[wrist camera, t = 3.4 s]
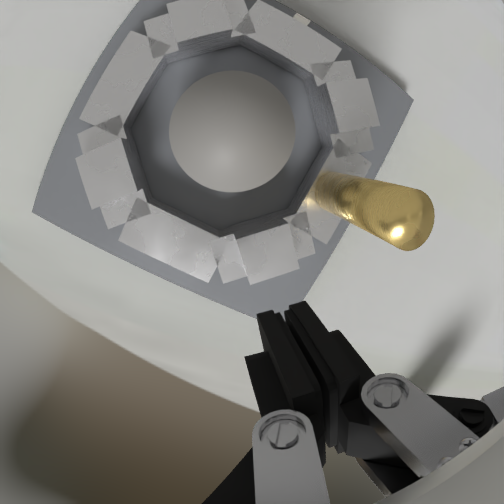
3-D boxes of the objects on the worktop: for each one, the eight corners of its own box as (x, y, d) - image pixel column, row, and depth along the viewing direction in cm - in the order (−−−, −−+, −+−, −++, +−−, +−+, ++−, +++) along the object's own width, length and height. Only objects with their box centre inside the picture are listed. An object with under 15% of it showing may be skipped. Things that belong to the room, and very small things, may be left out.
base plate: (176, -31, 15) (173, -65, 10) (403, 101, 21) (441, 96, 16) (40, 208, 19) (7, 222, 15) (279, 320, 26) (295, 354, 21)
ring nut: (182, -18, 14) (177, -110, 5) (389, 102, 19) (491, 88, 10) (58, 198, 18) (-34, 238, 8) (276, 302, 23) (323, 395, 13)
